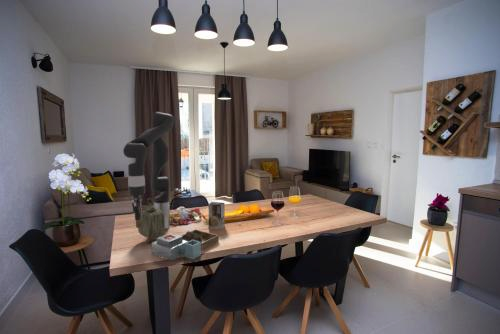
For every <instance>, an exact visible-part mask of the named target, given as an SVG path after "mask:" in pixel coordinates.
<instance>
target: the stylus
mask: <svg viewBox="0 0 500 334" xmlns="http://www.w3.org/2000/svg"><path fill="white" fill-rule="evenodd" d="M136 210H138V209H136ZM139 227H141V217H140V220H135V228H137V229H138V228H139Z"/></svg>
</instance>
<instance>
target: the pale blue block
mask: <svg viewBox="0 0 500 334" xmlns="http://www.w3.org/2000/svg"><path fill="white" fill-rule="evenodd" d="M167 237H173V238H172V239H170V240H169V239H166V238H167ZM186 242H188V241H184V240H183V236H181V235H179V234H175V233H171V232H169V233H166V234H163V235H160V236H159V237H158V238H157V237H156V240H154V241H151V253H152V255H154V256H158V257H159V256H160V258H162V257H163V259H165V260H168V261H171V262H172V261H174V260H176V259H179V258H180V257H182V256H185V243H186Z"/></svg>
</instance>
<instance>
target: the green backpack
mask: <svg viewBox="0 0 500 334" xmlns="http://www.w3.org/2000/svg"><path fill="white" fill-rule="evenodd" d="M149 200H151V201H152V202H150V203H149ZM146 202H147V204H148V205H149V206H147V207H146V208H145V209H143V210H140V211H141V227H139V228H137V230H138V233H139V234H140V235H141V236H143V237H144V238H147V239H146V243H150V239H153V238H156V239H157V238H158V237H161V236H164V235H165V230H166V229H165V220H164V213H163V212H162V211H160V210H158V209H155V207H154V198H151V197H148V198H147V200H146Z"/></svg>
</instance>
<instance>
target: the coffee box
mask: <svg viewBox="0 0 500 334" xmlns="http://www.w3.org/2000/svg"><path fill="white" fill-rule="evenodd" d="M207 208H208V229H217V230H222V229H224V228H225V226H226V225H225V224H226V223H225V220H226V219H225V218H226V217H225V202H221V201H219V202H217V201H211V202H210V203H208V207H207Z"/></svg>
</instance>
